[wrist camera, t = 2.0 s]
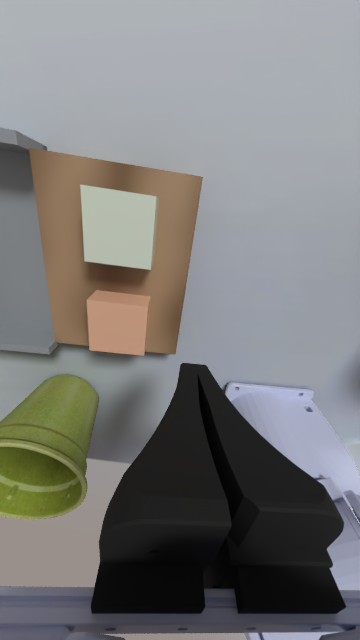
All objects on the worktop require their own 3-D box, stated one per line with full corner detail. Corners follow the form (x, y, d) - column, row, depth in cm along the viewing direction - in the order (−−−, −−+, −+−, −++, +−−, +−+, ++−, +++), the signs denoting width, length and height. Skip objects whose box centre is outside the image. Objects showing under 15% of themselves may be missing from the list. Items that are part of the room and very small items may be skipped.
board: (199, 181, 15) (202, 176, 13) (175, 342, 20) (175, 354, 19) (47, 156, 14) (28, 147, 12) (66, 330, 20) (55, 342, 18)
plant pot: (24, 348, 20) (-68, 432, 13) (123, 372, 22) (95, 460, 14) (22, 415, 24) (-50, 510, 17) (106, 431, 26) (77, 526, 18)
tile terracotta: (150, 296, 16) (147, 306, 14) (147, 341, 18) (144, 355, 16) (96, 290, 16) (86, 299, 14) (98, 336, 18) (89, 350, 16)
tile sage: (158, 198, 13) (156, 196, 12) (153, 263, 15) (150, 269, 13) (93, 188, 13) (80, 184, 11) (95, 255, 15) (84, 261, 13)
